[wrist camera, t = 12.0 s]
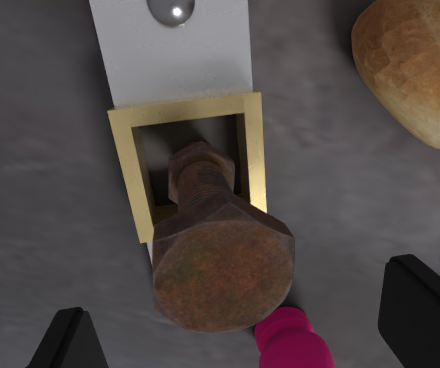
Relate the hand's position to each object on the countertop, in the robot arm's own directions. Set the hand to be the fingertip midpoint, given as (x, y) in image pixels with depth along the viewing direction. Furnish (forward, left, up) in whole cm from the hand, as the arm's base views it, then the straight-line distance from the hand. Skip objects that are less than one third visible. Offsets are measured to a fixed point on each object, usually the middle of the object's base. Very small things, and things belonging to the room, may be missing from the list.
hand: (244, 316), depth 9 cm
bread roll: (-18, -5, -17) cm, 25 cm away
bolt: (0, 0, -17) cm, 17 cm away
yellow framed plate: (+1, 0, -16) cm, 16 cm away
